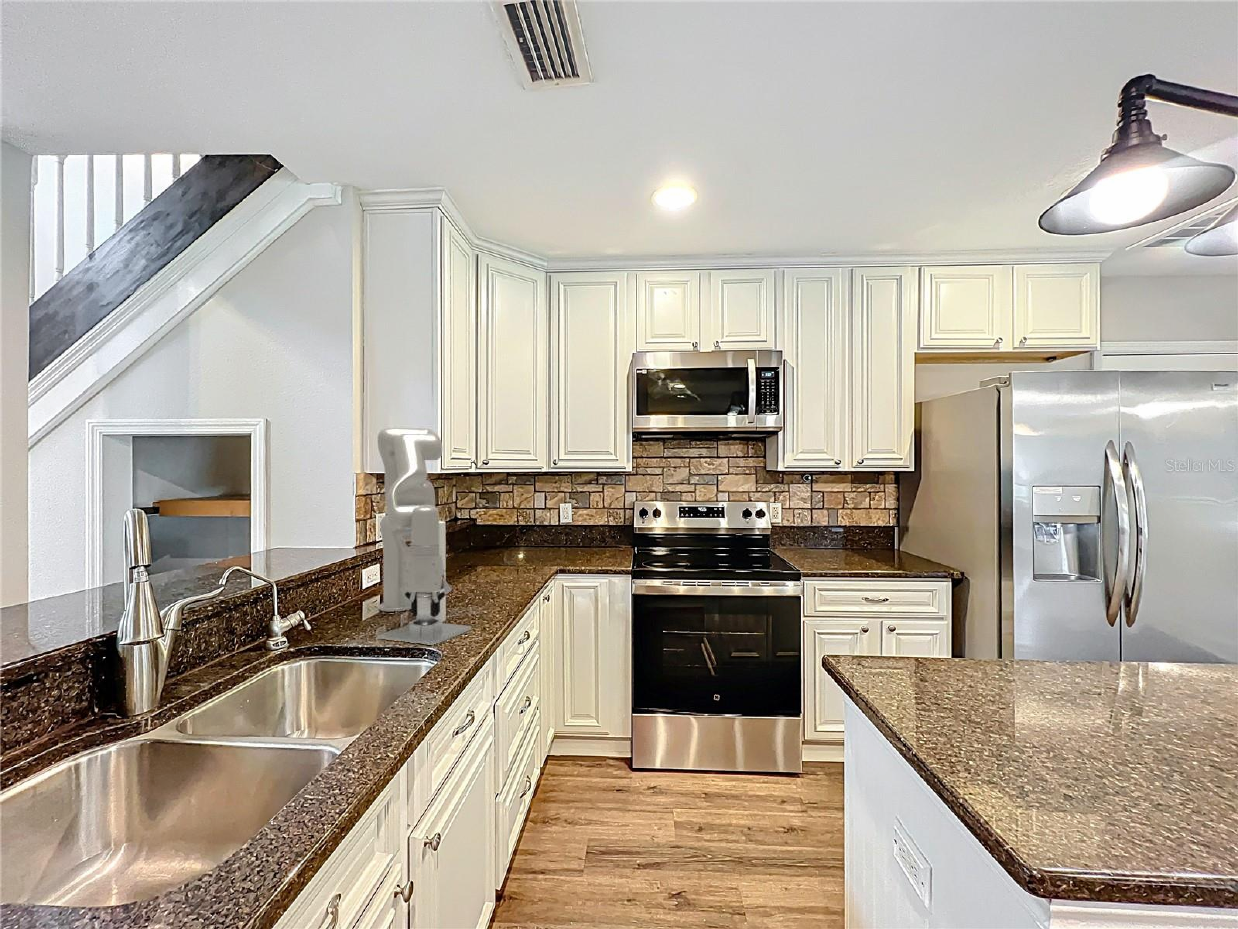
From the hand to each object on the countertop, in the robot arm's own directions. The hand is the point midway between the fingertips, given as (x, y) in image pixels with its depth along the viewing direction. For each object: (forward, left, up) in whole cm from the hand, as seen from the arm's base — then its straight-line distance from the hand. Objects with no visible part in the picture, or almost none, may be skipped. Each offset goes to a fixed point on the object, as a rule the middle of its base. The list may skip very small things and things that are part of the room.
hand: (425, 615), depth 180 cm
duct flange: (0, 0, -5) cm, 5 cm away
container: (-14, -9, -6) cm, 18 cm away
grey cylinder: (0, 0, -3) cm, 3 cm away
